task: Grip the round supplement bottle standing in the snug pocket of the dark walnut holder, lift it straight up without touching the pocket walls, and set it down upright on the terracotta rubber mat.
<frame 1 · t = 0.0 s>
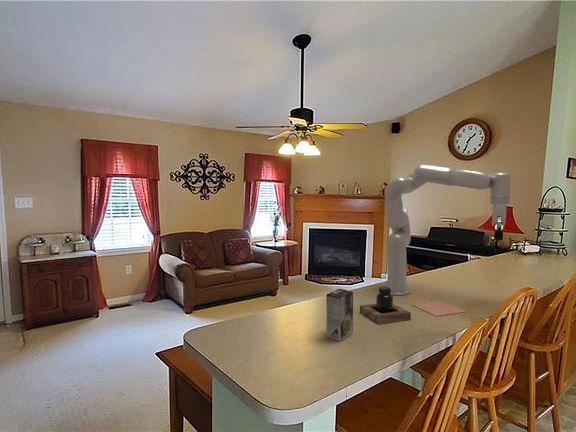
hand: (498, 238, 158), 31 cm above the counter, tool pointing down, fingers open, 9 cm apart
walnut holder: (384, 315, 149), on the counter
terracotta mat: (438, 308, 158), on the counter
coffee box: (339, 335, 129), on the counter
supplement bottle: (384, 316, 149), resting in walnut holder
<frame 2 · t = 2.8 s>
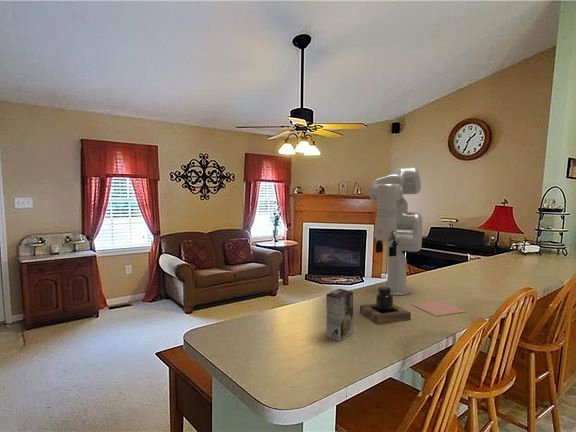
hand: (385, 254, 147), 26 cm above the counter, tool pointing down, fingers open, 9 cm apart
nothing on the counter moved.
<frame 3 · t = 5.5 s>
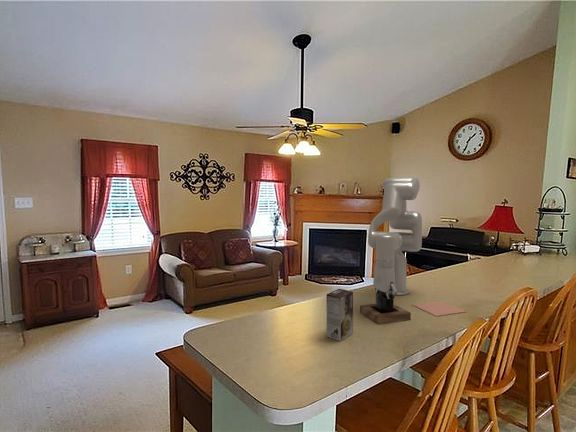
hand: (384, 304, 149), 5 cm above the counter, tool pointing down, fingers closed on supplement bottle, 6 cm apart
supplement bottle: (384, 316, 149), resting in walnut holder, touching gripper
everything else where it was.
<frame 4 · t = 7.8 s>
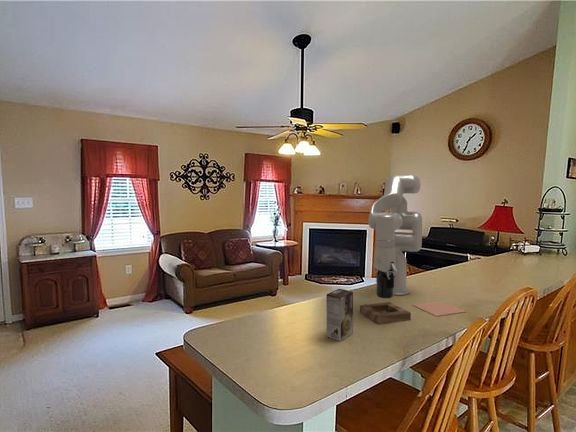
hand: (384, 285, 149), 13 cm above the counter, tool pointing down, fingers closed on supplement bottle, 6 cm apart
supplement bottle: (384, 296, 149), point 8 cm above the counter, touching gripper
everything else where it was.
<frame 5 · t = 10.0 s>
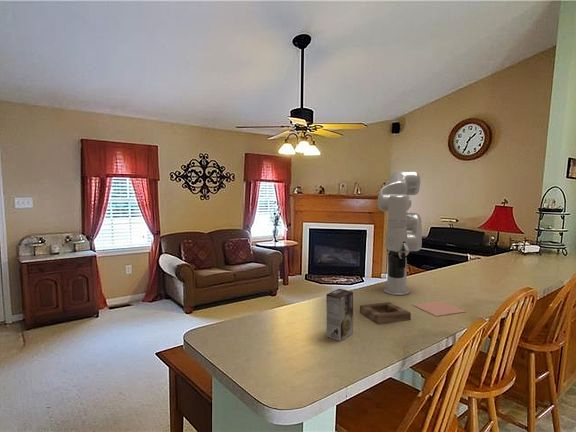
hand: (396, 265, 150), 21 cm above the counter, tool pointing down, fingers closed on supplement bottle, 6 cm apart
supplement bottle: (396, 276, 150), point 16 cm above the counter, touching gripper
everything else where it was.
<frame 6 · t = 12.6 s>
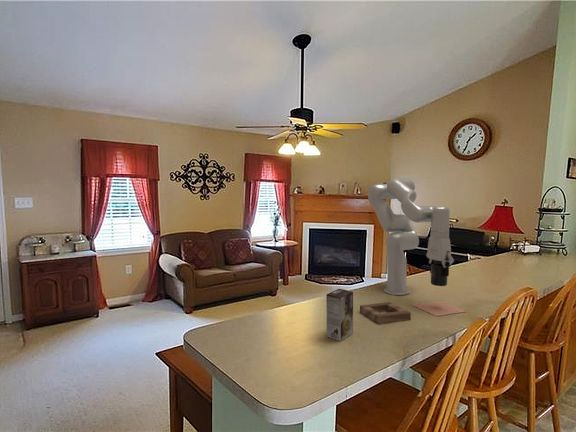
hand: (439, 274, 157), 16 cm above the counter, tool pointing down, fingers closed on supplement bottle, 6 cm apart
supplement bottle: (438, 284, 157), point 11 cm above the counter, touching gripper
everything else where it was.
when the fingers open (6 cm above the counter, at t = 14.7 s): supplement bottle drops 1 cm, resting on terracotta mat.
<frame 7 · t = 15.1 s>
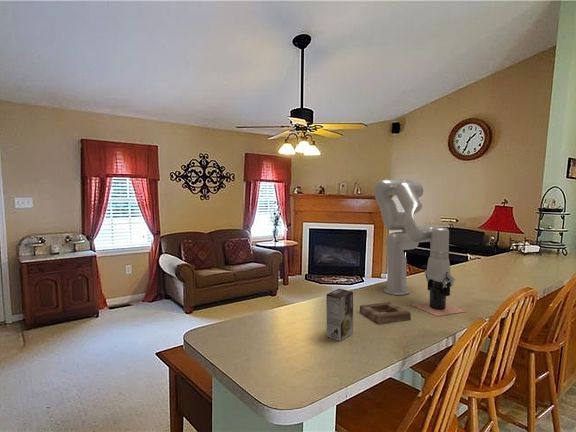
hand: (438, 292, 157), 7 cm above the counter, tool pointing down, fingers open, 9 cm apart
supplement bottle: (437, 307, 158), resting on terracotta mat
everything else where it was.
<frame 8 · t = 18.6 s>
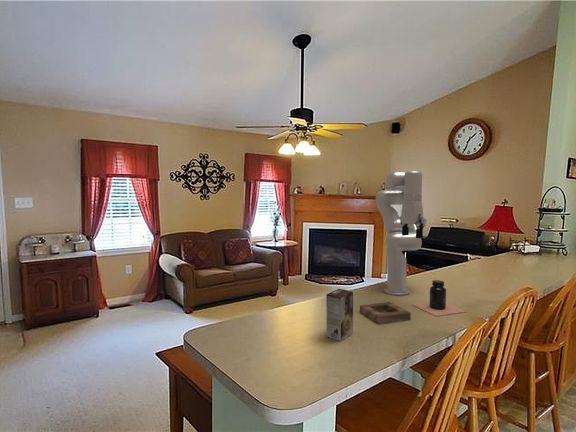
hand: (412, 236, 158), 32 cm above the counter, tool pointing down, fingers open, 9 cm apart
nothing on the counter moved.
at the end: supplement bottle inside the target area on the terracotta mat (0.3 cm from its centre), point 0.2 cm above the terracotta mat's base; supplement bottle tilted 0°; the gripper is holding nothing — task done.
